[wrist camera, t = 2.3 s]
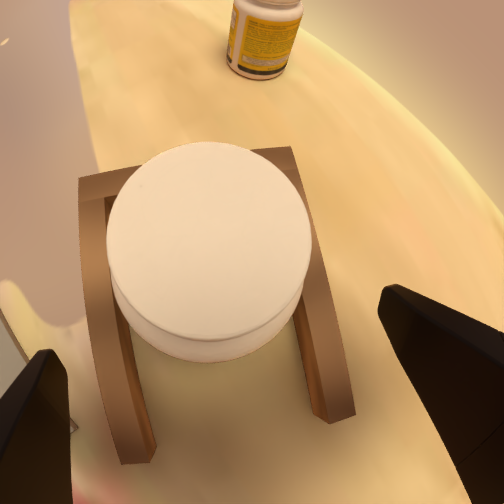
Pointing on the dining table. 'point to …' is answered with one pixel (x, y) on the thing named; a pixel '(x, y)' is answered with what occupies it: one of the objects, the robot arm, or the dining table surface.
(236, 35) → the supplement bottle
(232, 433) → the dining table surface
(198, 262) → the pill bottle
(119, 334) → the open wooden u-frame
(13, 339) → the coaster
